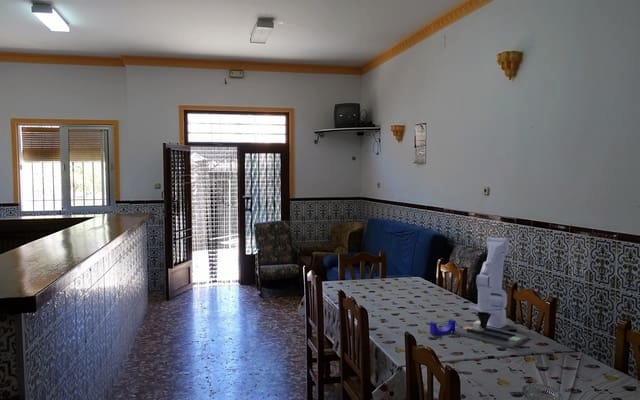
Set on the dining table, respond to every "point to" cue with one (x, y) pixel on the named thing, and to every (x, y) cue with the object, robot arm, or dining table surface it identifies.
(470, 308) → the robot arm
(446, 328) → the cable clip
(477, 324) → the switch handle
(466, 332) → the breaker panel
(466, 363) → the dining table surface
